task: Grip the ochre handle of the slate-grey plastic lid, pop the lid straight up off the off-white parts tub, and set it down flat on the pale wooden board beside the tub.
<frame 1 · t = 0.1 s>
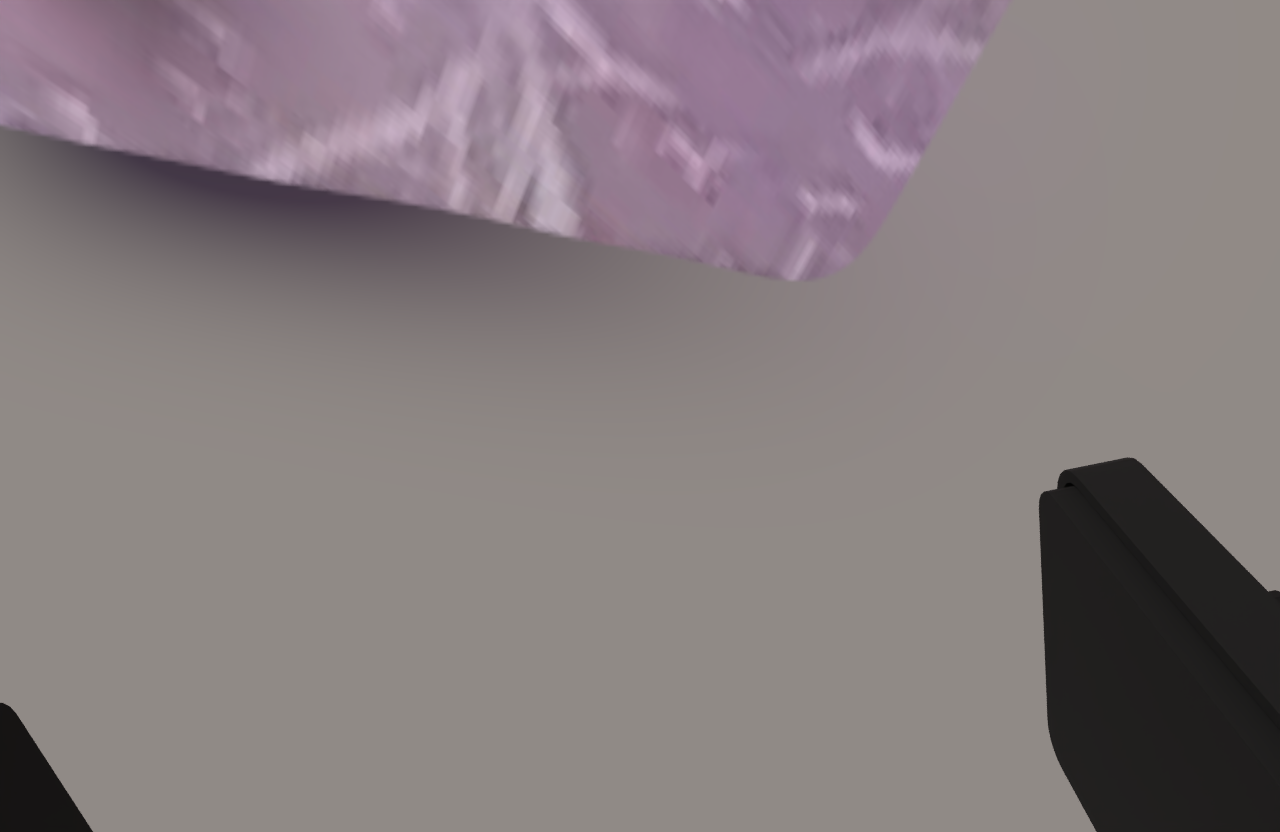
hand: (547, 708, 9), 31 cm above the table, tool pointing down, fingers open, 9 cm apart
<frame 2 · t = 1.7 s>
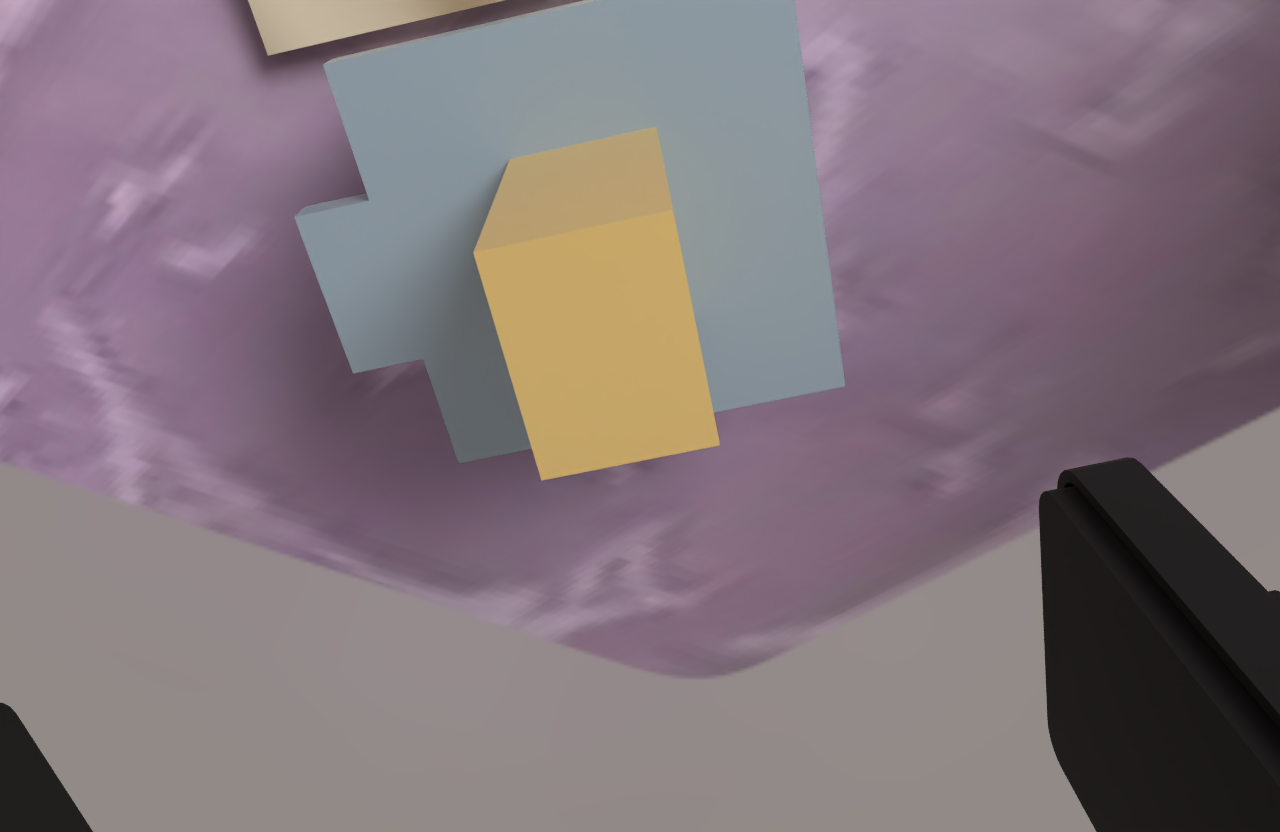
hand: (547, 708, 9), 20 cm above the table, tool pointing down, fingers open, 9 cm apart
lid: (605, 227, 22), point 6 cm above the table, touching tub
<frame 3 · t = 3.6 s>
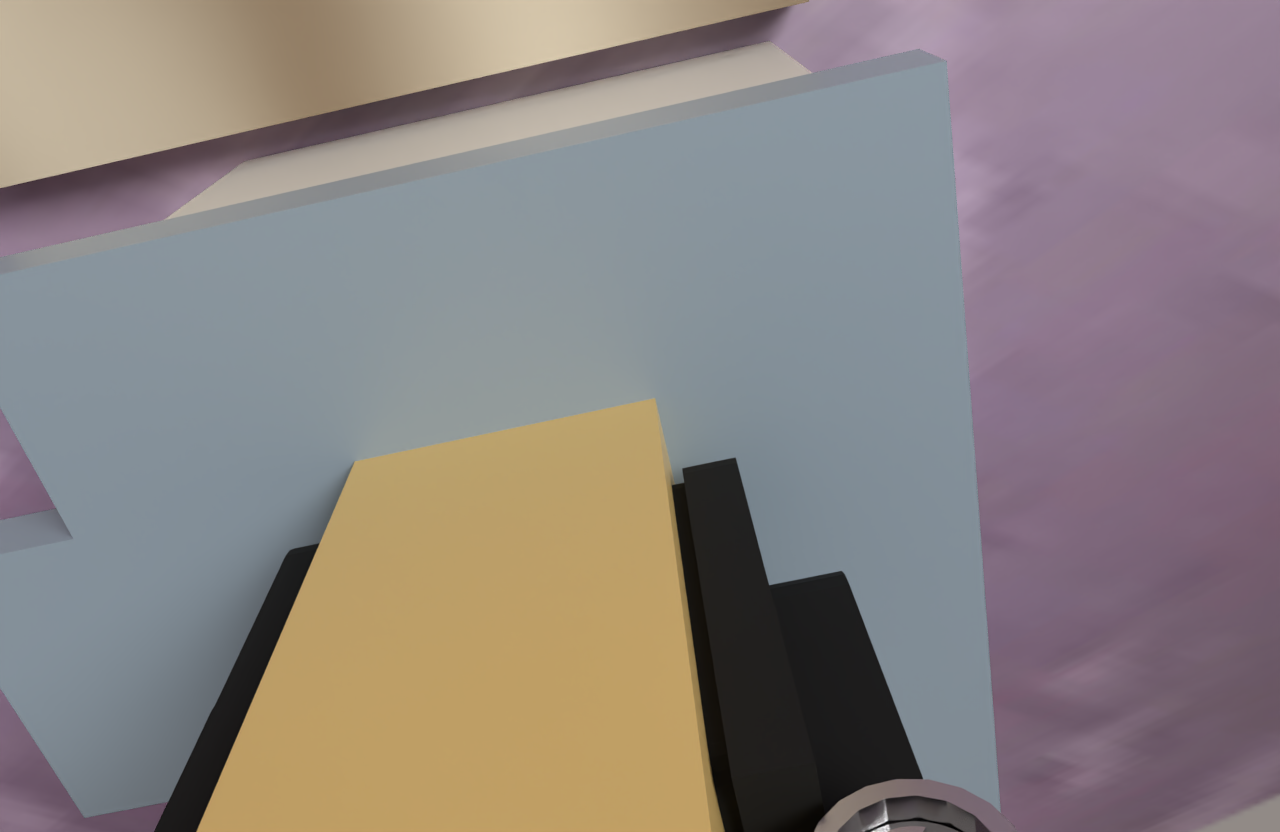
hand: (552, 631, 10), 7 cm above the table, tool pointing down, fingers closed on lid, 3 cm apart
tub: (567, 345, 17), on the table
lid: (556, 551, 11), point 6 cm above the table, touching gripper, tub
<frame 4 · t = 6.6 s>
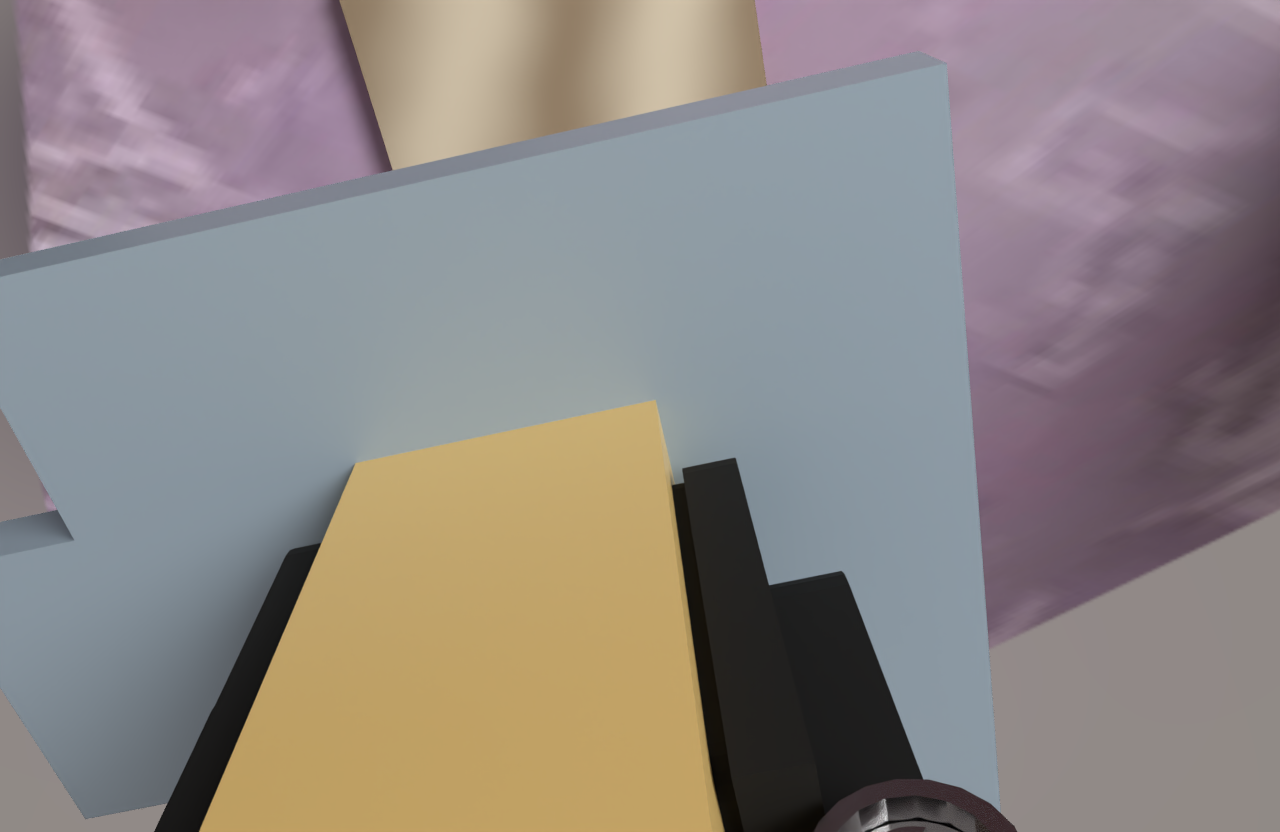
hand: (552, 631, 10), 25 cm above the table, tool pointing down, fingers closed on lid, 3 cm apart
board: (578, 125, 33), on the table
lid: (557, 552, 11), point 24 cm above the table, touching gripper
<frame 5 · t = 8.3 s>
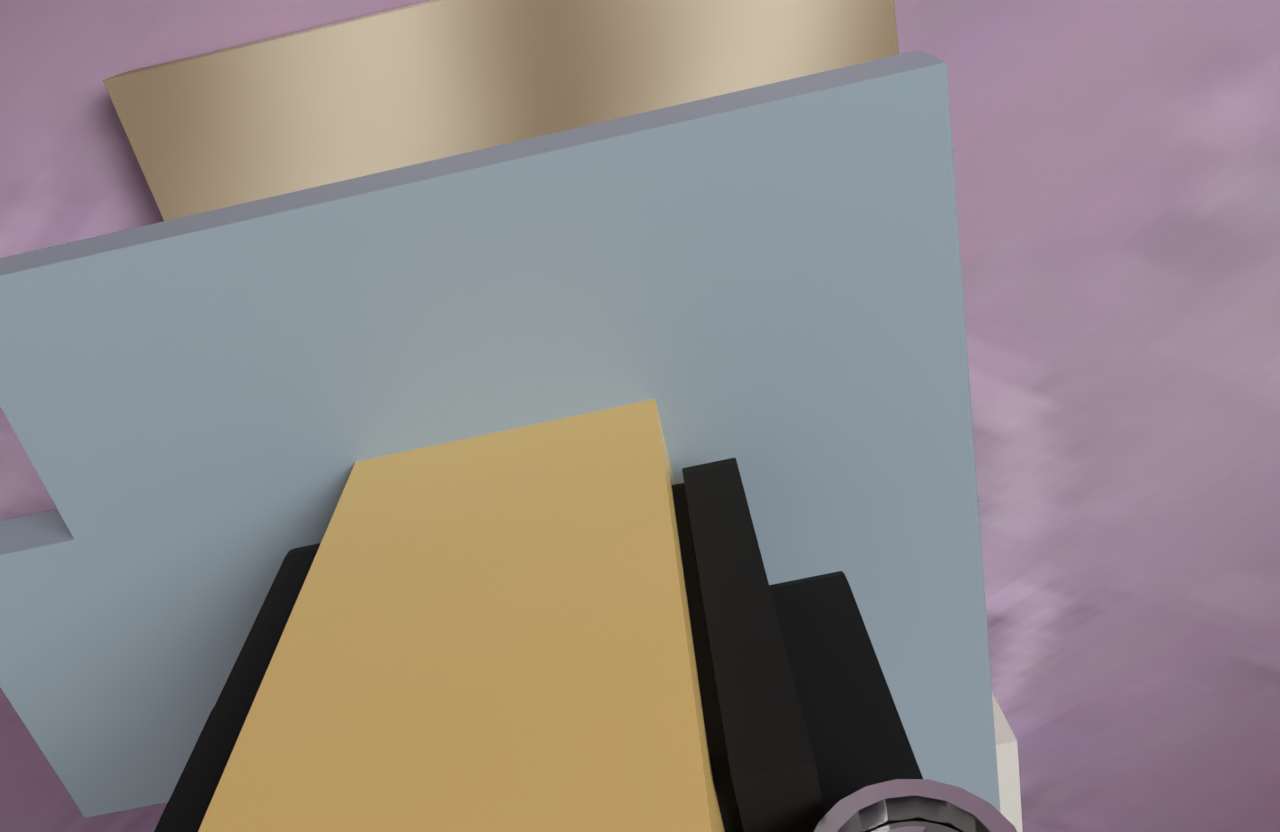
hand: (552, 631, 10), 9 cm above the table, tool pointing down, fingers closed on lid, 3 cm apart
tub: (745, 708, 23), on the table
board: (573, 310, 18), on the table
lid: (557, 551, 11), point 8 cm above the table, touching gripper
when the fingers open (4 cm above the table, at t = 9.7 s): lid drops 1 cm, resting on board.
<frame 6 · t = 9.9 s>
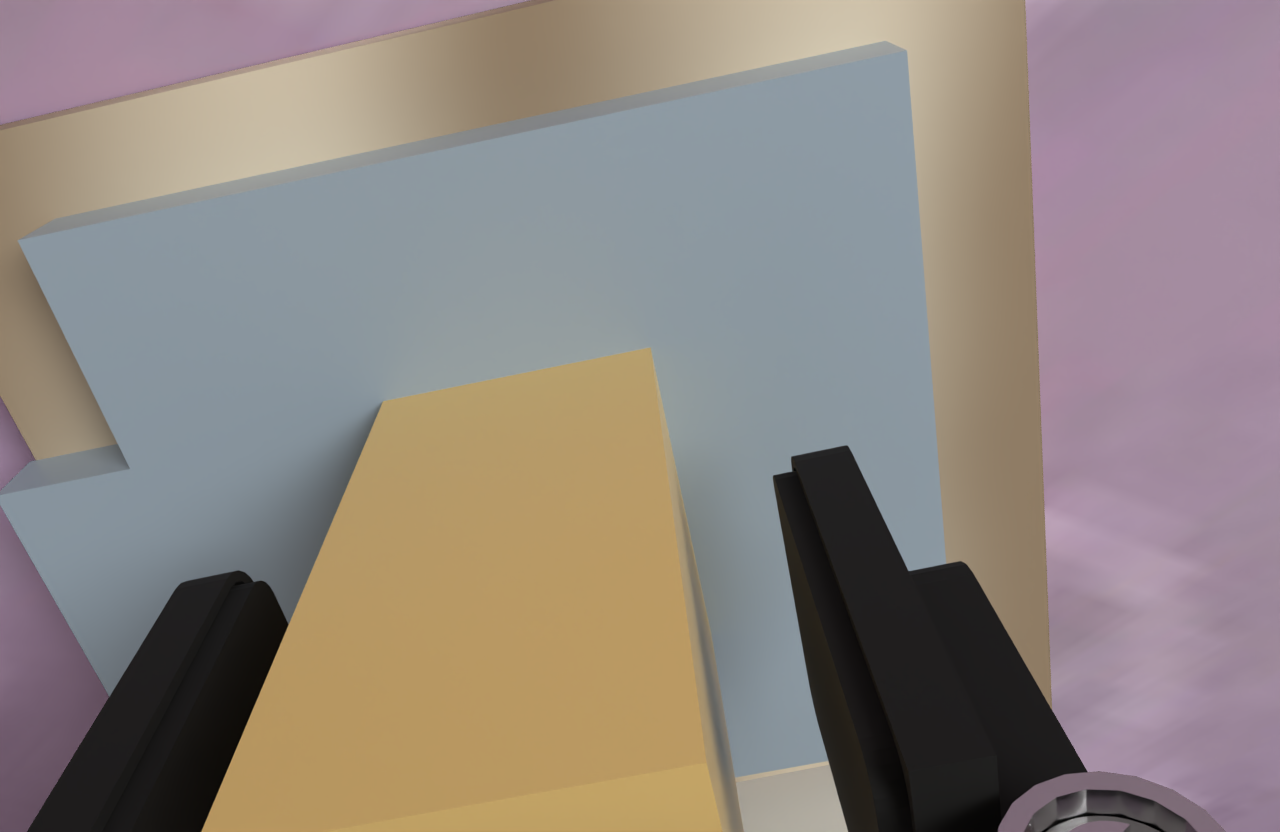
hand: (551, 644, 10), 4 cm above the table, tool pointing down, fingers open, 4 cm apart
board: (561, 457, 13), on the table
lid: (560, 490, 13), point 1 cm above the table, touching board
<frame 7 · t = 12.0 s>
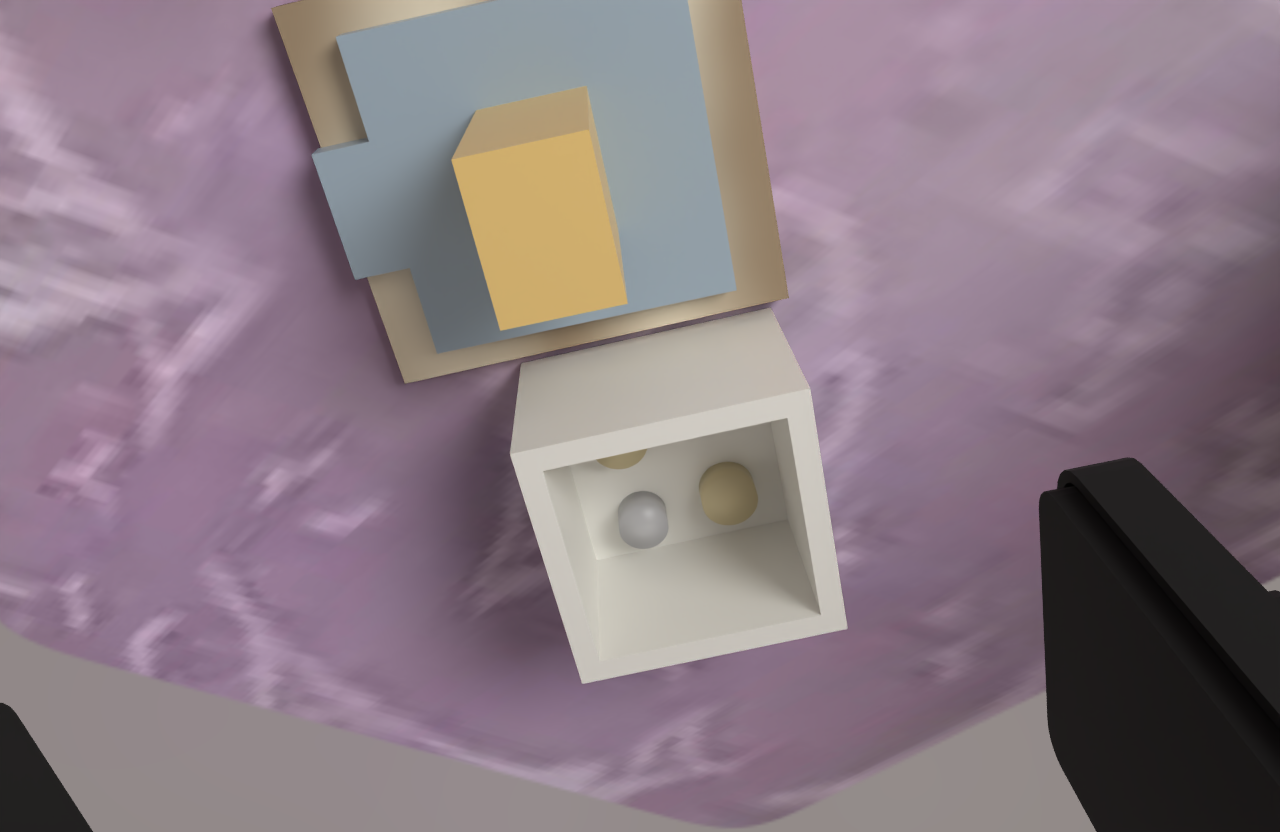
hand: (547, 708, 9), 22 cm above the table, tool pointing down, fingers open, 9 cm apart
tub: (670, 445, 34), on the table
board: (550, 157, 29), on the table
lid: (550, 165, 29), point 1 cm above the table, touching board
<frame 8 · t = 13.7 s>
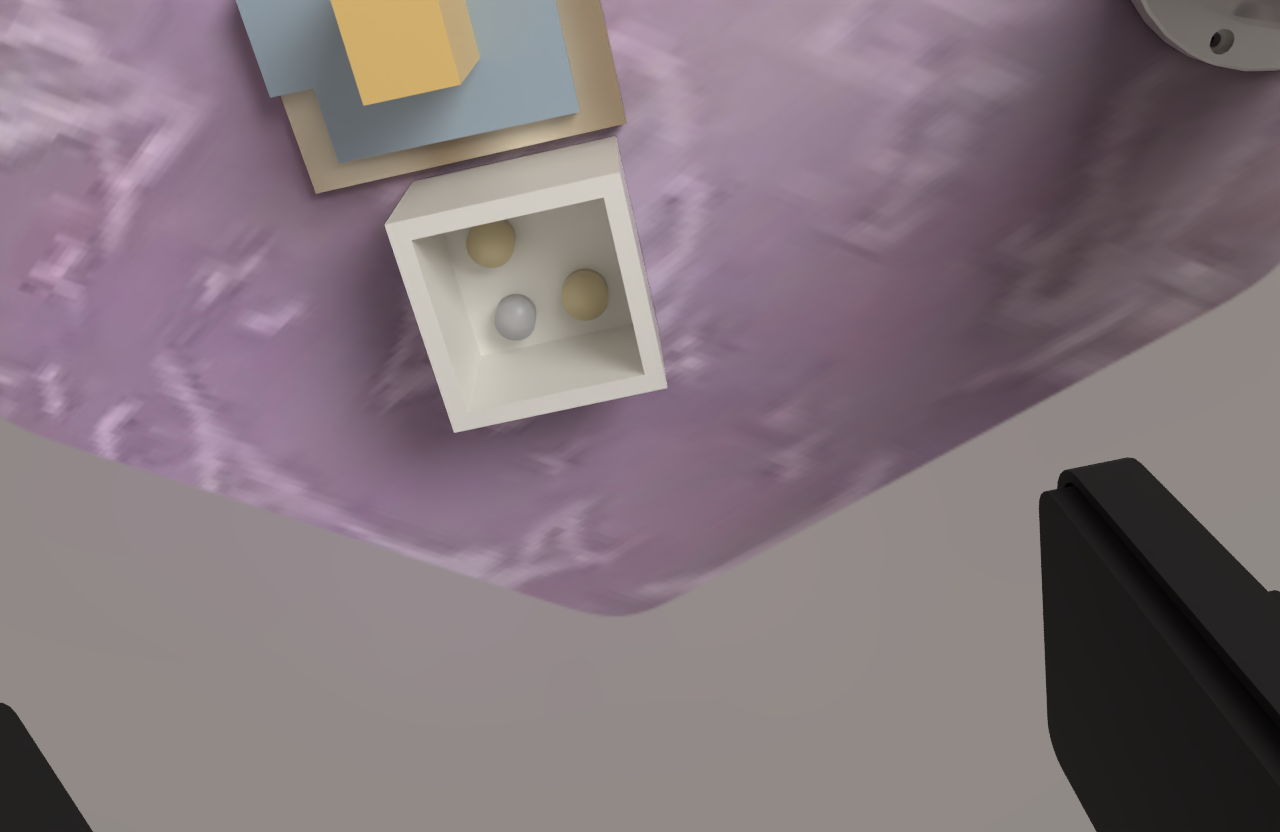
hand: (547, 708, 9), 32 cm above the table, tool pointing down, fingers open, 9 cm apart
tub: (540, 256, 41), on the table
board: (428, 2, 36), on the table
lid: (425, 5, 36), point 1 cm above the table, touching board
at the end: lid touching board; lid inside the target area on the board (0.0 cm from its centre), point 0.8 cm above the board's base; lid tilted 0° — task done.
